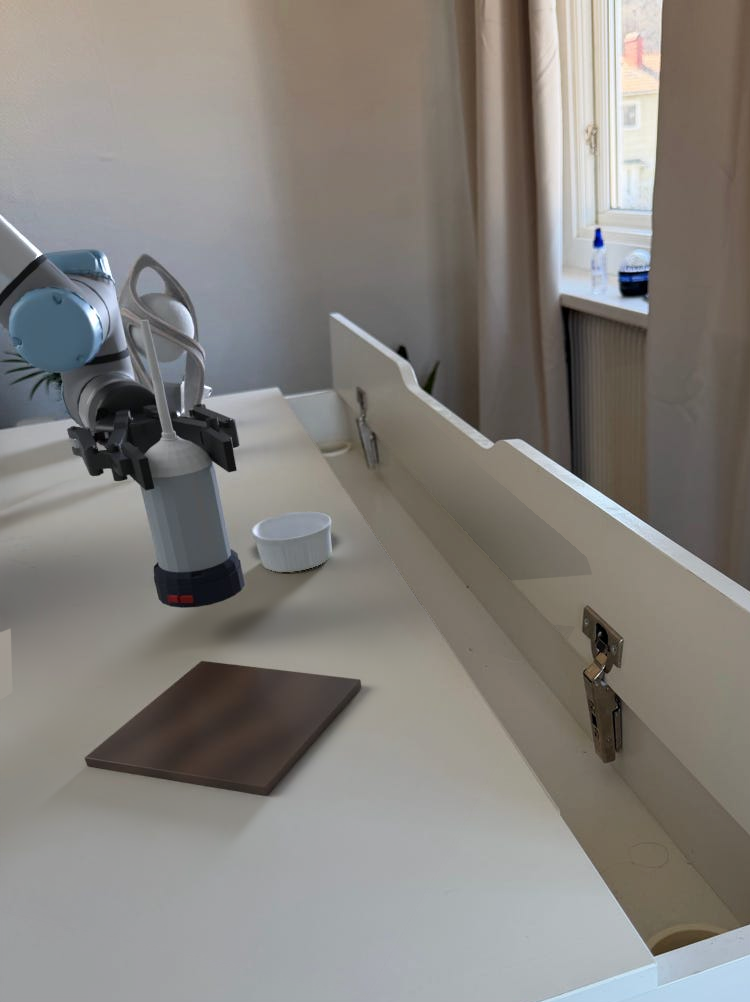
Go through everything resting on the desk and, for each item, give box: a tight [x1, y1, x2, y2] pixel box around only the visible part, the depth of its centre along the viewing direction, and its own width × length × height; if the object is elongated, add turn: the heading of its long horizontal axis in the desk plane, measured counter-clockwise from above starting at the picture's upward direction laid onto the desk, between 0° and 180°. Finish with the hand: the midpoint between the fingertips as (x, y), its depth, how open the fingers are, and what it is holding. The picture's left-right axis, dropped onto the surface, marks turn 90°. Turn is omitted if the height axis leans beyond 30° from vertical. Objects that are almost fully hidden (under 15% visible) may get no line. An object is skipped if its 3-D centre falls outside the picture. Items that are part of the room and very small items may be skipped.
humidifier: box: [139, 320, 246, 609], centre depth 88 cm, size 8×8×25 cm
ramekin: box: [250, 511, 333, 573], centre depth 110 cm, size 9×9×4 cm
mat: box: [84, 660, 362, 796], centre depth 79 cm, size 16×16×1 cm
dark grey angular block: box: [162, 374, 213, 415], centre depth 166 cm, size 15×6×10 cm, turn 91°
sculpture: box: [117, 253, 206, 414], centre depth 144 cm, size 12×12×30 cm
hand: (189, 465), depth 84 cm, fingers closed on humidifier, 7 cm apart
